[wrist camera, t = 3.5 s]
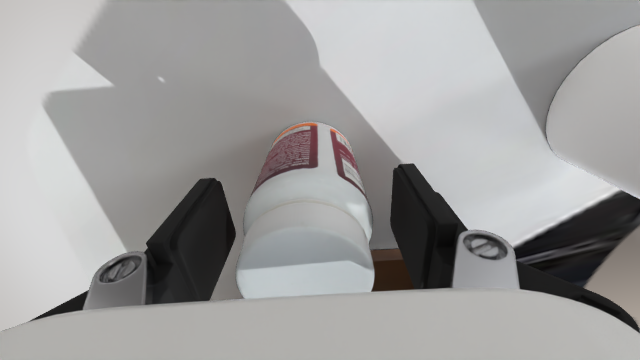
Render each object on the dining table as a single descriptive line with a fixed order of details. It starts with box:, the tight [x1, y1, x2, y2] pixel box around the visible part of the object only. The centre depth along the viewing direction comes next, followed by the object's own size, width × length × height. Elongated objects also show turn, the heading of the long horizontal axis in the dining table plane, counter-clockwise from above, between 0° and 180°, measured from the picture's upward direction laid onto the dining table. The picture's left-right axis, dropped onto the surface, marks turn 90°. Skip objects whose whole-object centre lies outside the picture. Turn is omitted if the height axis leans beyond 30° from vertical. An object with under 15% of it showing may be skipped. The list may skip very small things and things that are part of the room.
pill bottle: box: [236, 122, 374, 299], centre depth 11 cm, size 5×5×8 cm
